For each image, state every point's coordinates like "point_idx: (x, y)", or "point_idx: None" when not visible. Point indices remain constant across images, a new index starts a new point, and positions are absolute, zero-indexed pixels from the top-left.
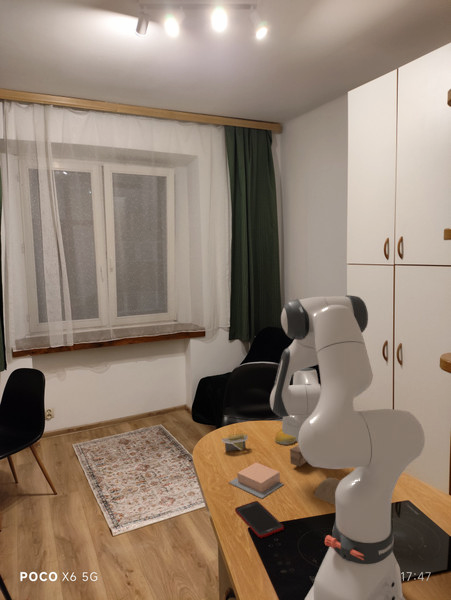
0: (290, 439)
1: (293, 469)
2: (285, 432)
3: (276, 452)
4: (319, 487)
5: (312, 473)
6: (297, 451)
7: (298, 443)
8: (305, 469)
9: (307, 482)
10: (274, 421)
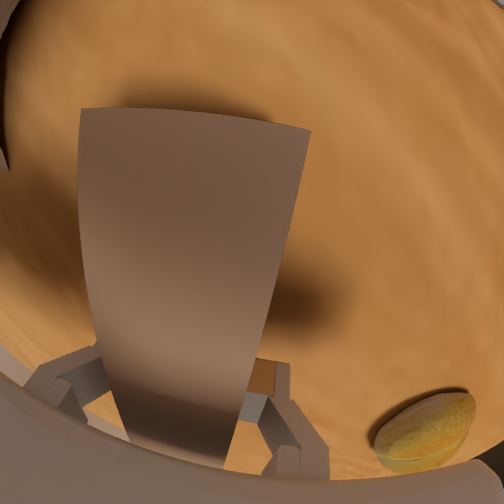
0: (402, 434)
1: (259, 112)
2: (470, 477)
3: (467, 311)
4: (5, 11)
5: None
6: (108, 119)
7: (295, 413)
8: None
9: (87, 24)
10: None
